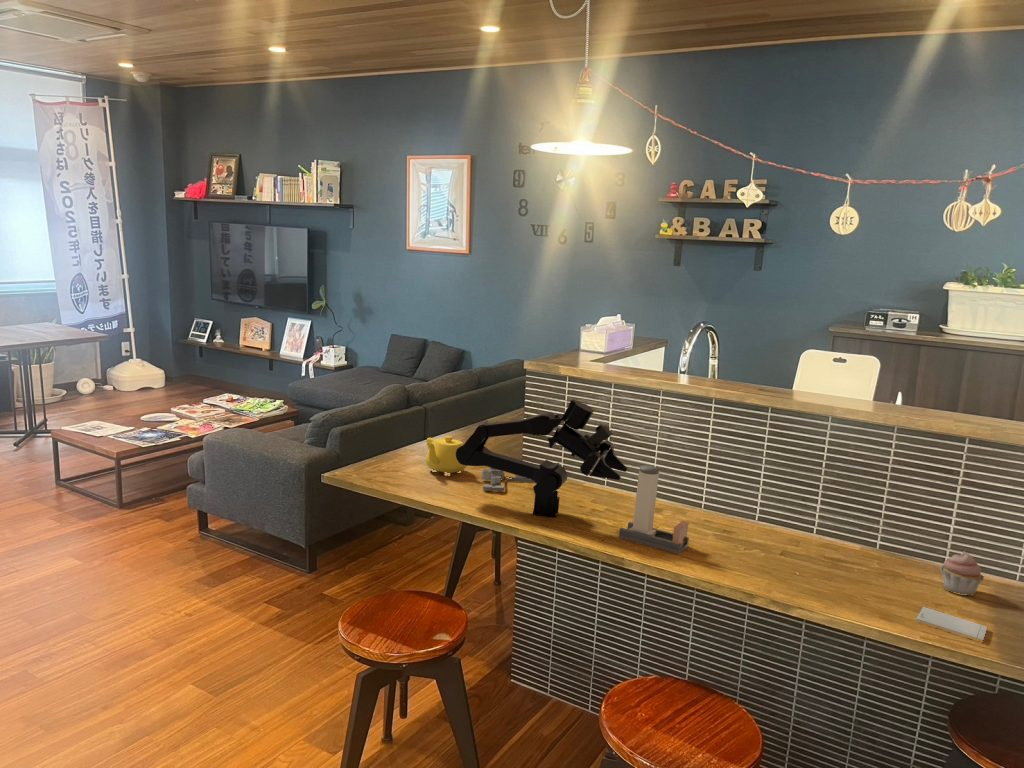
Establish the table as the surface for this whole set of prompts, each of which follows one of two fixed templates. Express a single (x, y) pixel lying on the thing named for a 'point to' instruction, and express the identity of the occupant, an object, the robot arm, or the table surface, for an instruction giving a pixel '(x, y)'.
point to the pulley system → (495, 479)
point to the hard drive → (951, 623)
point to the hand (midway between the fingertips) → (623, 474)
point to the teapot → (443, 455)
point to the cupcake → (961, 574)
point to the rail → (660, 538)
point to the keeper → (645, 500)
